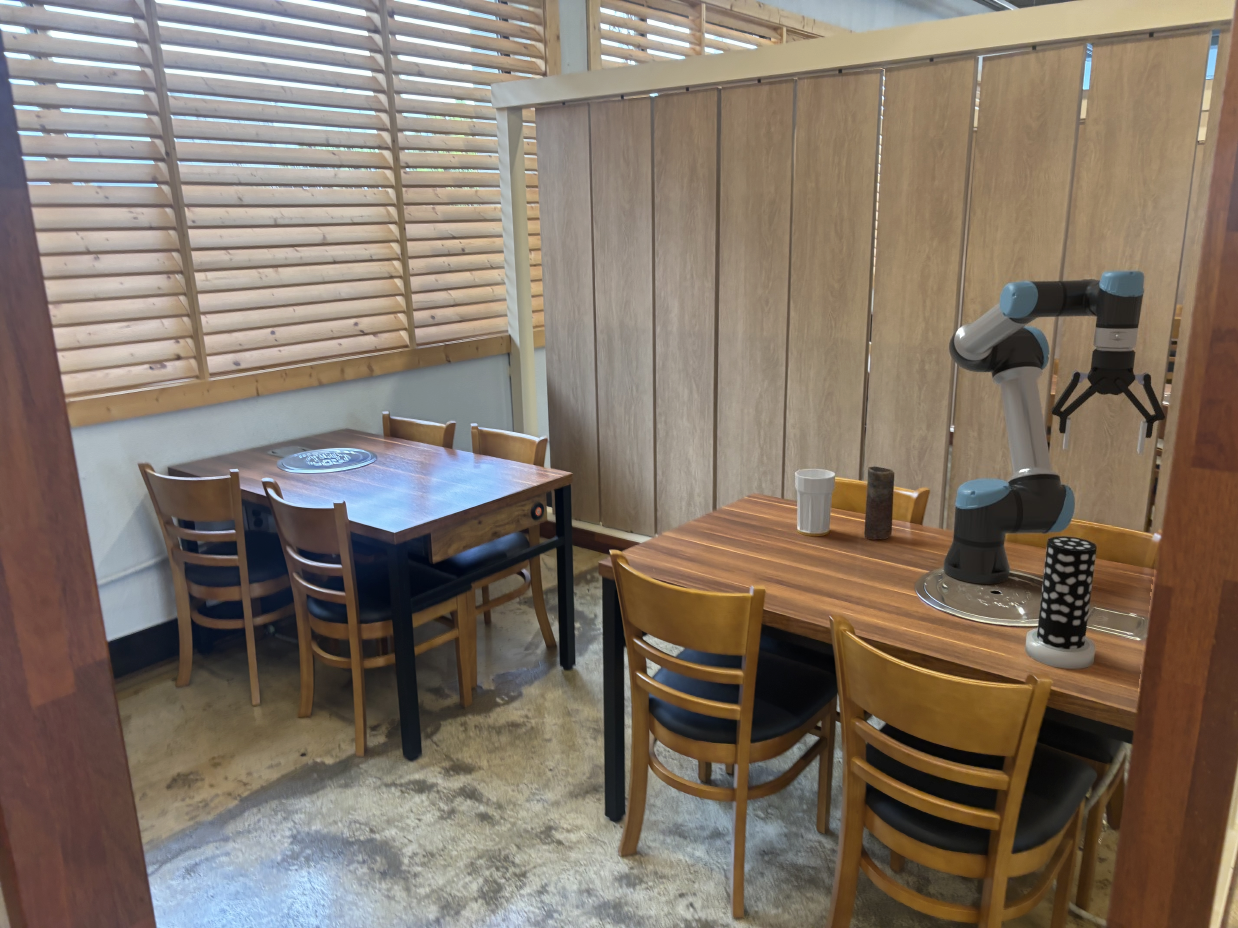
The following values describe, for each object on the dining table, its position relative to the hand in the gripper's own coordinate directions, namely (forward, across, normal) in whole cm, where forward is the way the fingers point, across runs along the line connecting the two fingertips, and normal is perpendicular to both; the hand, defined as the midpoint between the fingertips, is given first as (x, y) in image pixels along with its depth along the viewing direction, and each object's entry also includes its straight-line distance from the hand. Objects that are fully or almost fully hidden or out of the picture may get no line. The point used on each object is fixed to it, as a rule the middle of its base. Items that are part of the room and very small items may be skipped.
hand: (1102, 451), depth 172 cm
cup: (+37, -66, +37) cm, 84 cm away
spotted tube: (+34, -6, -23) cm, 41 cm away
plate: (+37, -6, -23) cm, 44 cm away
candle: (+37, -48, +38) cm, 71 cm away
